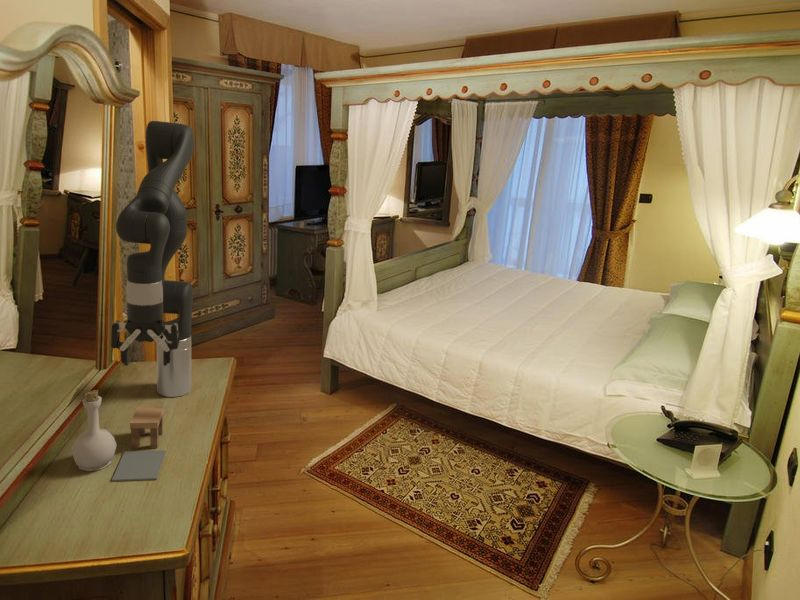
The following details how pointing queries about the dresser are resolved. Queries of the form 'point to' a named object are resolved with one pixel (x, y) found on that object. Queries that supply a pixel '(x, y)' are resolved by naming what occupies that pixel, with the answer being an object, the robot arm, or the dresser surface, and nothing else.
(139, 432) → the small wooden bench
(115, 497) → the dresser surface
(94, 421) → the potion bottle
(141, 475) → the mat
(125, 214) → the robot arm
